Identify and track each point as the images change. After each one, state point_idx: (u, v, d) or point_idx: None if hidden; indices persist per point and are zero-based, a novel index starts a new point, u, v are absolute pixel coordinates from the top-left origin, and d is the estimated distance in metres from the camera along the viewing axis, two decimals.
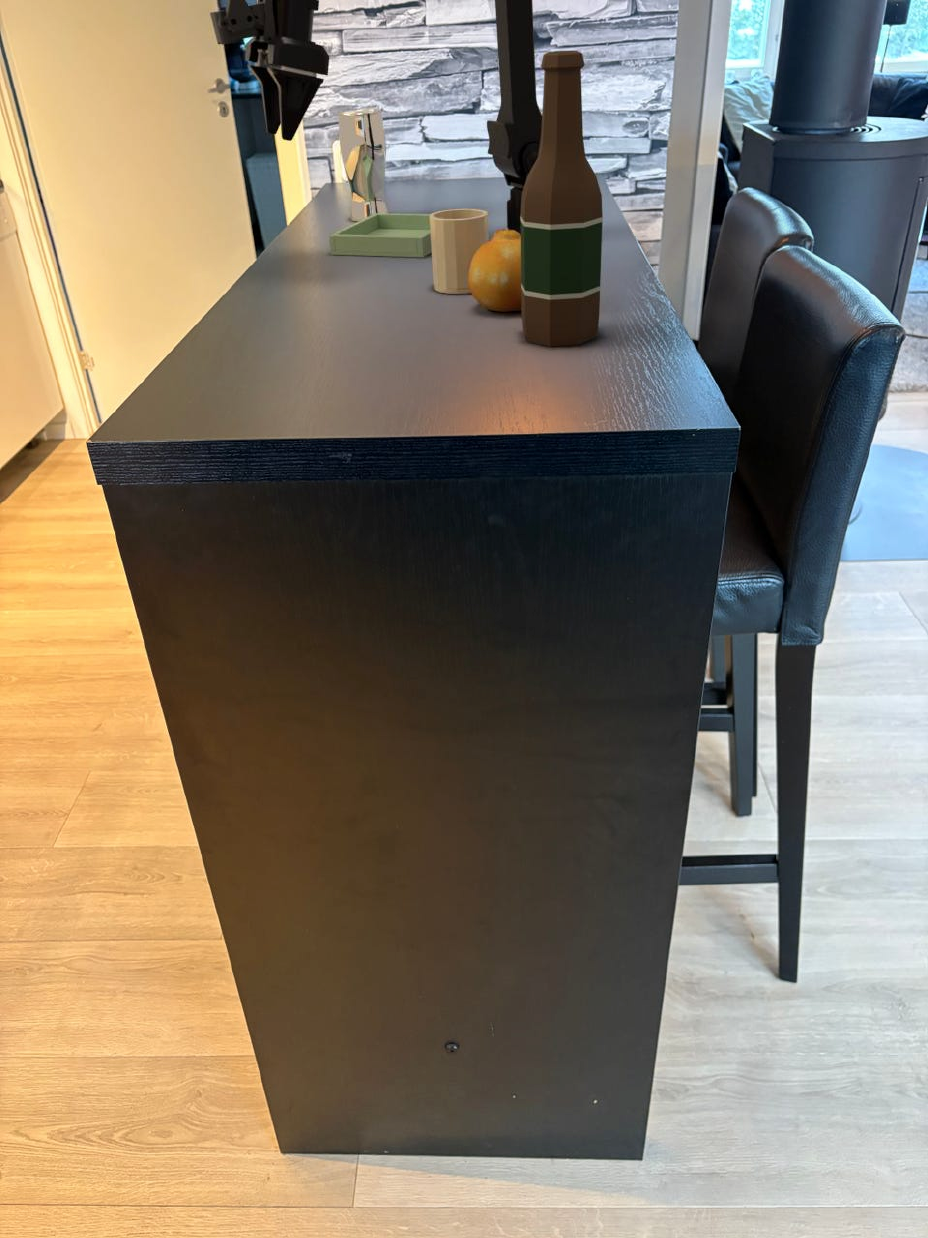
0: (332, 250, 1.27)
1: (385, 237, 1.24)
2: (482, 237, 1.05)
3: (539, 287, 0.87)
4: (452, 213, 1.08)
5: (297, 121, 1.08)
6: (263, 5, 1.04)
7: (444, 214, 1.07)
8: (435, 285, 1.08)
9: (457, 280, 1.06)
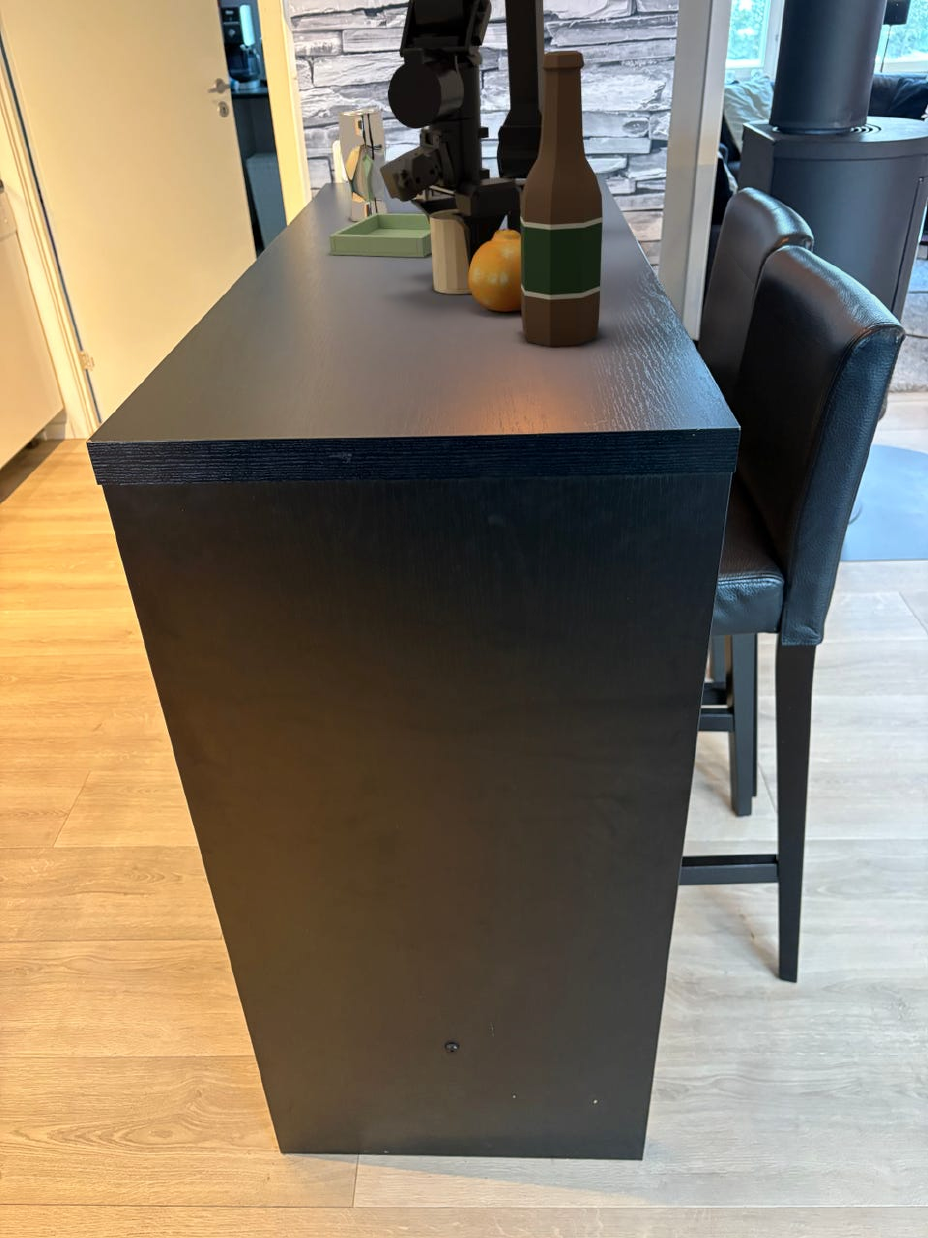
0: (332, 250, 1.27)
1: (385, 237, 1.24)
2: None
3: (539, 287, 0.87)
4: None
5: None
6: (437, 151, 0.99)
7: (444, 214, 1.07)
8: (435, 285, 1.08)
9: (457, 280, 1.06)
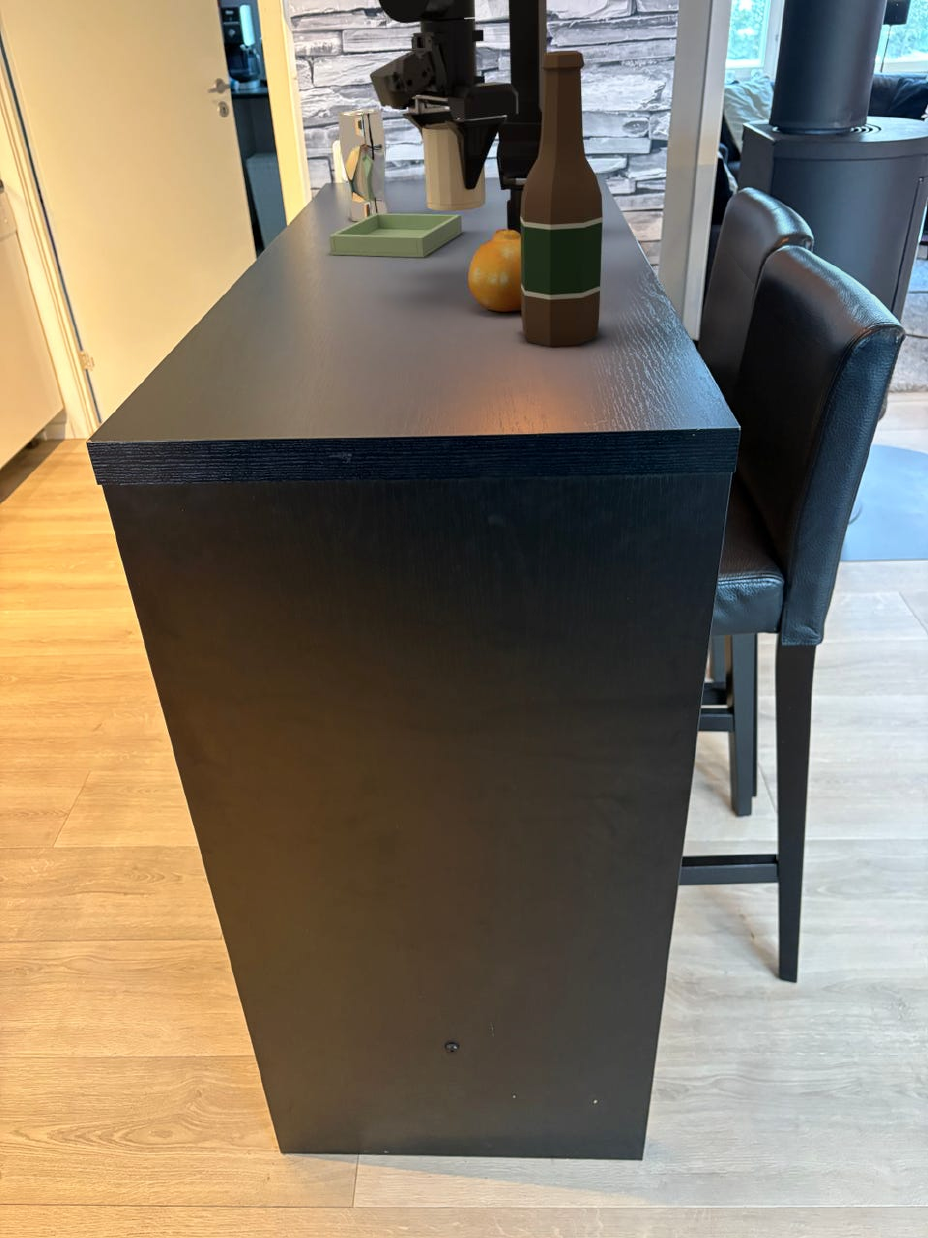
0: (332, 250, 1.27)
1: (385, 237, 1.24)
2: None
3: (539, 287, 0.87)
4: (446, 126, 1.03)
5: (480, 167, 1.00)
6: (429, 53, 0.94)
7: (437, 127, 1.03)
8: (428, 202, 1.04)
9: (451, 195, 1.02)
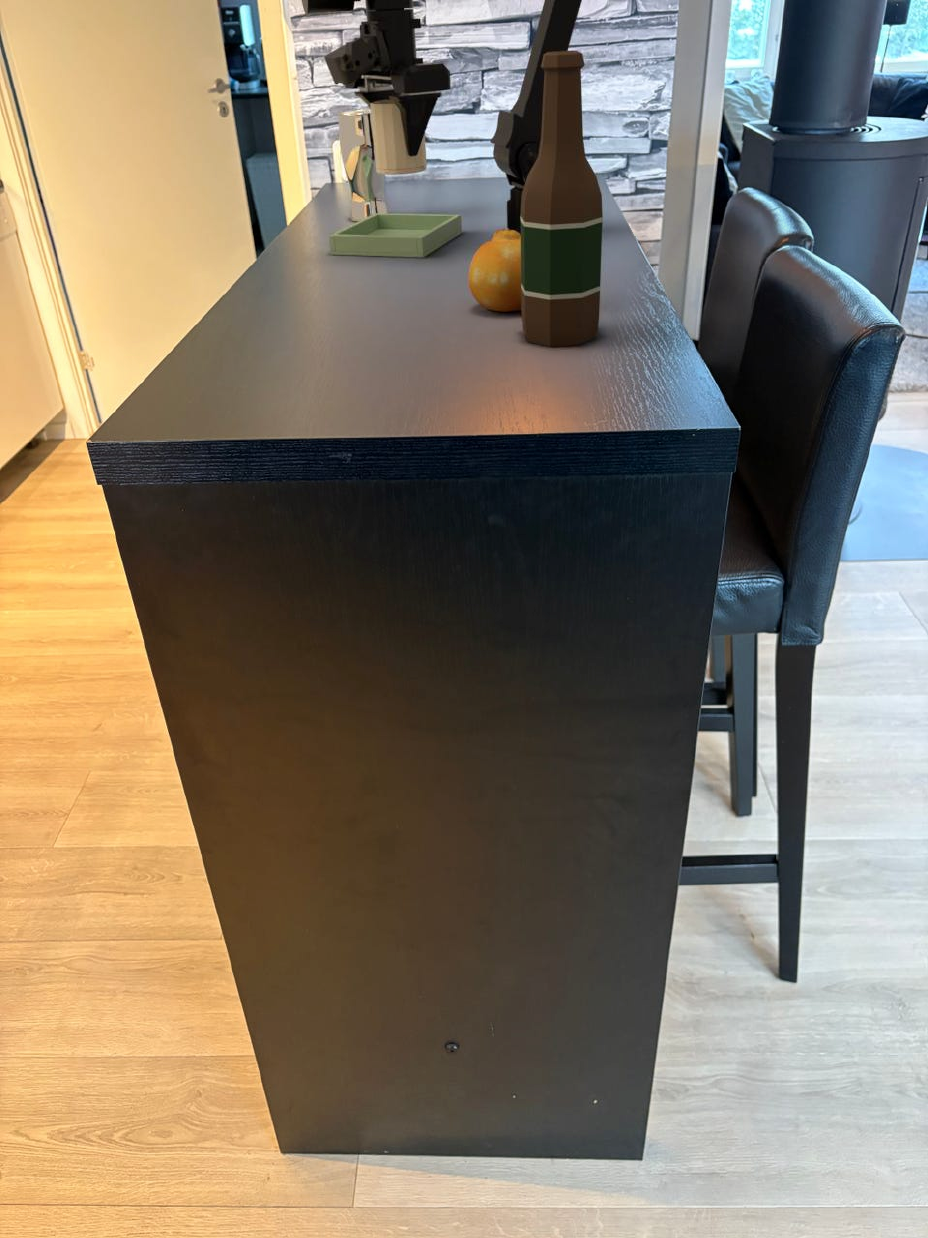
0: (332, 250, 1.27)
1: (385, 237, 1.24)
2: None
3: (539, 287, 0.87)
4: (391, 102, 1.20)
5: (420, 136, 1.17)
6: (374, 38, 1.11)
7: (384, 103, 1.20)
8: (377, 168, 1.21)
9: (396, 160, 1.18)
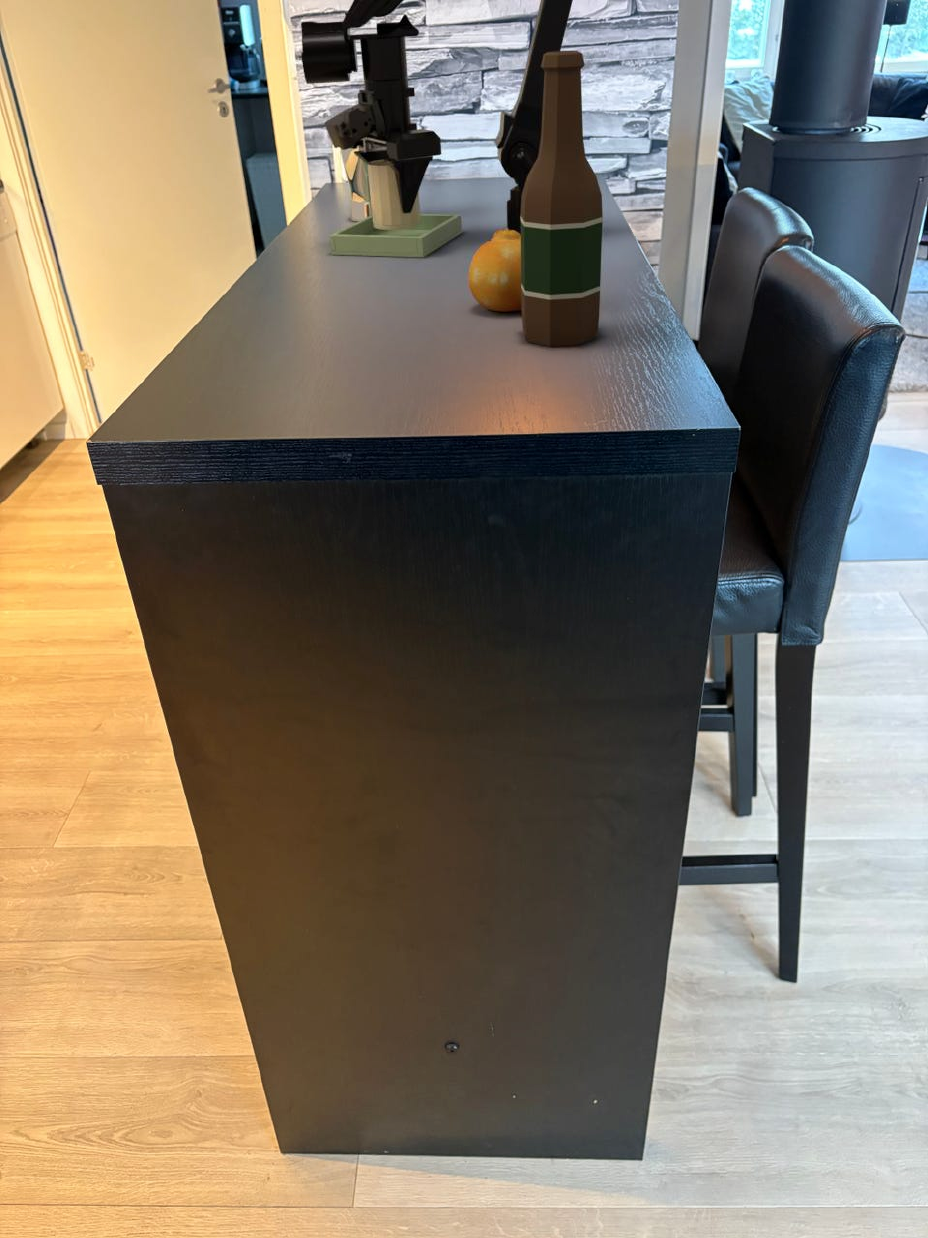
0: (332, 250, 1.27)
1: (385, 237, 1.24)
2: None
3: (539, 287, 0.87)
4: None
5: (414, 195, 1.25)
6: (371, 106, 1.19)
7: (381, 163, 1.28)
8: (374, 223, 1.29)
9: (391, 217, 1.26)
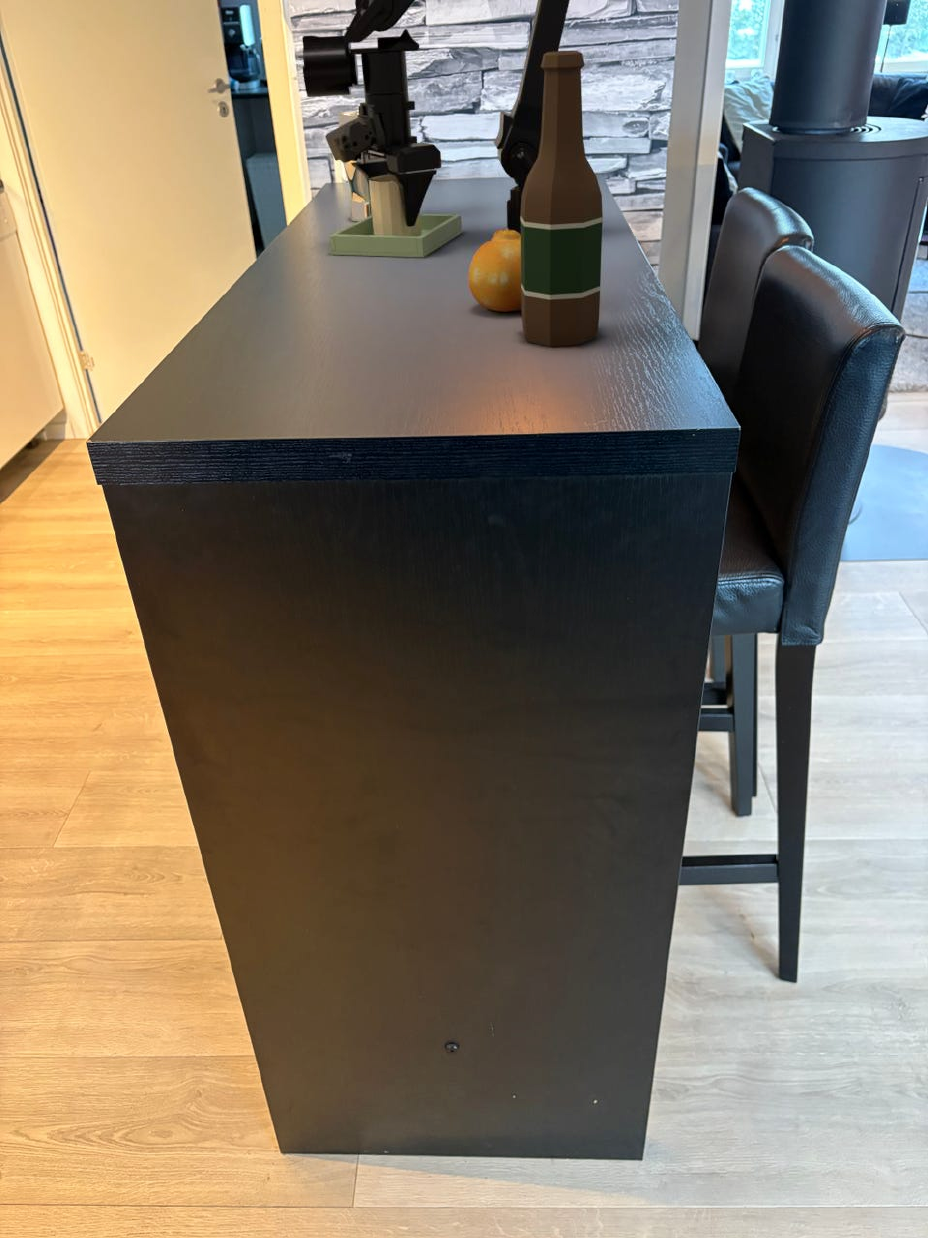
0: (332, 250, 1.27)
1: (385, 237, 1.24)
2: None
3: (539, 287, 0.87)
4: (389, 177, 1.29)
5: (418, 209, 1.25)
6: (371, 120, 1.20)
7: (382, 178, 1.29)
8: None
9: (392, 232, 1.27)
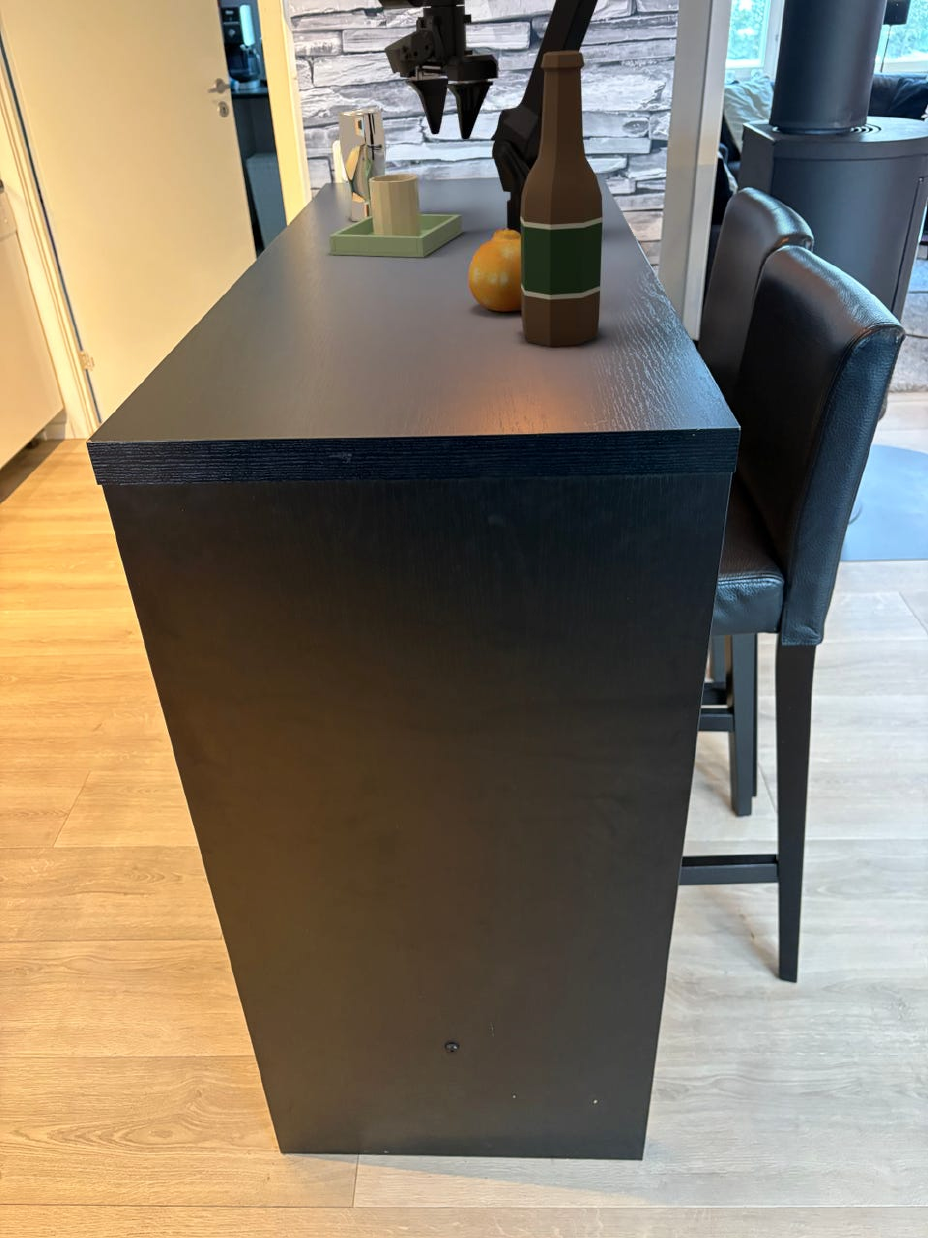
0: (332, 250, 1.27)
1: (385, 237, 1.24)
2: (412, 197, 1.26)
3: (539, 287, 0.87)
4: (389, 177, 1.29)
5: (473, 121, 1.29)
6: (430, 32, 1.24)
7: (382, 178, 1.29)
8: None
9: (392, 232, 1.27)
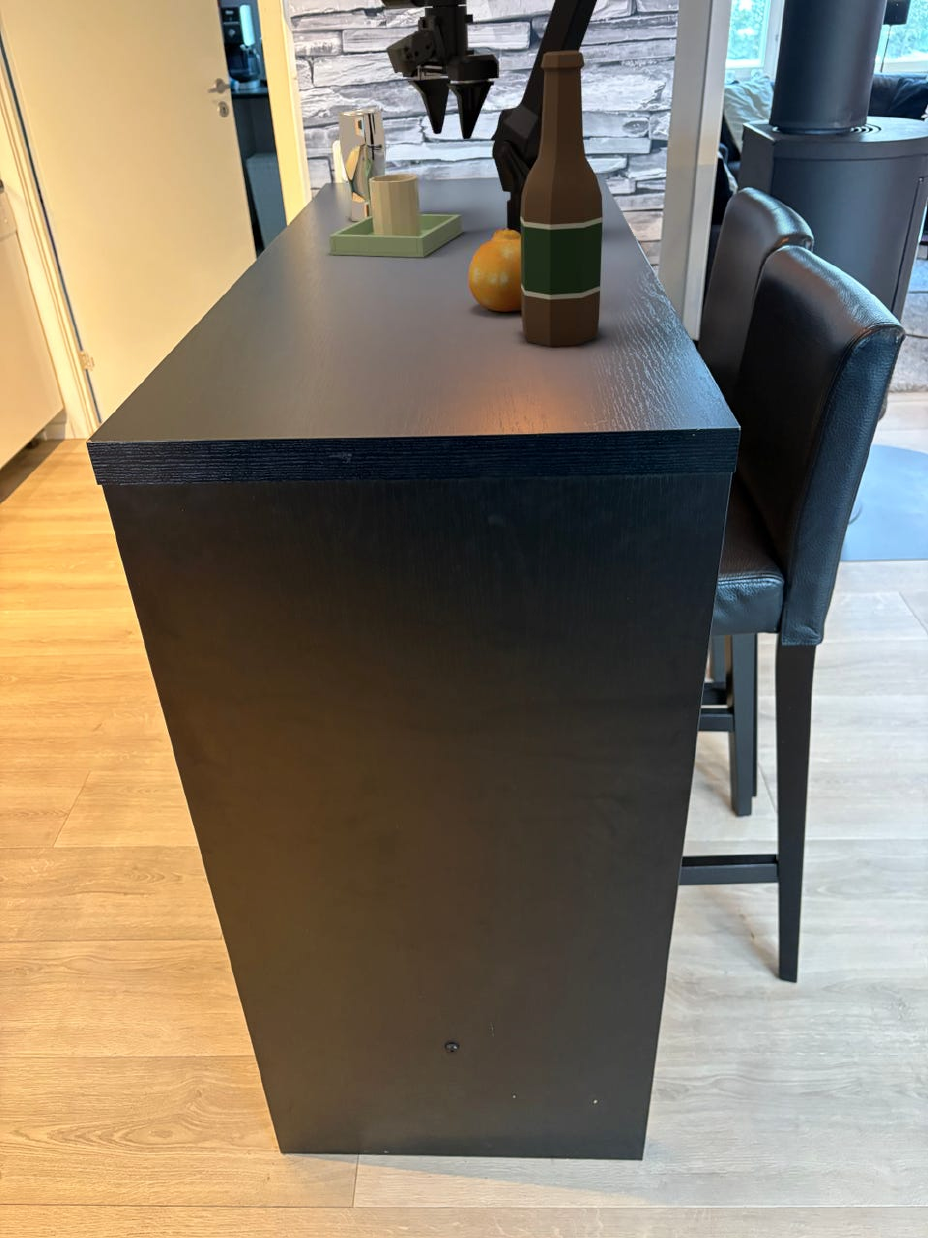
0: (332, 250, 1.27)
1: (385, 237, 1.24)
2: (412, 197, 1.26)
3: (539, 287, 0.87)
4: (389, 177, 1.29)
5: (474, 121, 1.29)
6: (432, 32, 1.24)
7: (382, 178, 1.29)
8: None
9: (392, 232, 1.27)
